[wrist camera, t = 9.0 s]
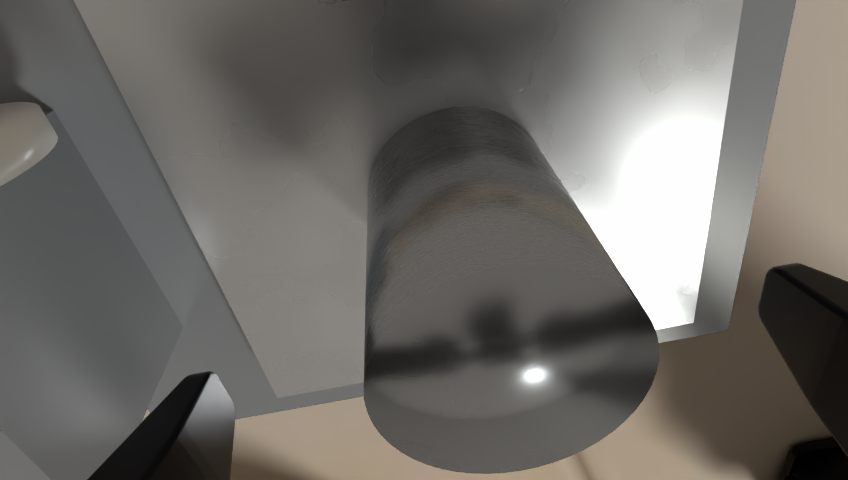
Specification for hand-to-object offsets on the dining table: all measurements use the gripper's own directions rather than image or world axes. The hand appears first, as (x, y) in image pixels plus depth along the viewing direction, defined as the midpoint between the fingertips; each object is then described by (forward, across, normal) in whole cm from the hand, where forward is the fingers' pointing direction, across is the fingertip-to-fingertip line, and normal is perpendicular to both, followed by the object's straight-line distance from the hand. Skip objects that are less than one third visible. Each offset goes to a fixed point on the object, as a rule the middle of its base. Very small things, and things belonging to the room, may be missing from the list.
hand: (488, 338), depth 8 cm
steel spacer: (+5, 0, 0) cm, 5 cm away
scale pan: (+6, 0, 0) cm, 6 cm away
